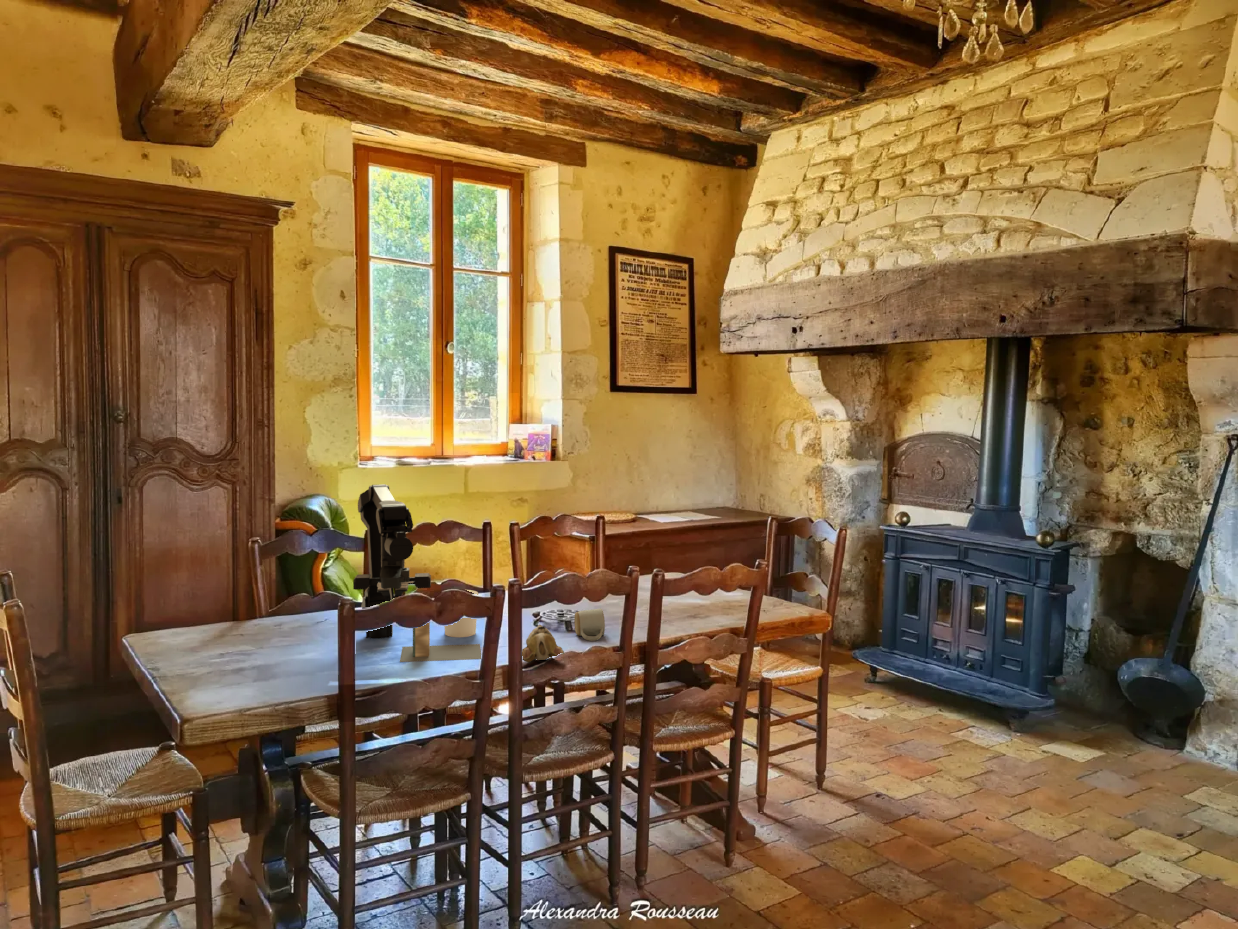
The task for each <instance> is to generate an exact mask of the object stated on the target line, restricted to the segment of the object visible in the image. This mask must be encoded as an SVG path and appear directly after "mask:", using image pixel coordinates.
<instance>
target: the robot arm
mask: <svg viewBox="0 0 1238 929" xmlns="http://www.w3.org/2000/svg"><path fill="white" fill-rule="evenodd" d="M357 511H358V513H359V514H360V520H361V522H362V523H363V525H364V526H365V528H366V529H367V545H368V546H367V550H368V564H369V565H368V567H369V574H367V573H366V574H356V575H355V577H354V578H353V581H352V582H353V584H352V586H353V587H352V590H356V591H358V590H365V591H364V596H363V598H362V601H361V604H360V605H361V606H360V608H361V607H370V606H373V605H376V604H380V603H382V602H385V601H390V600H392V599H393V598H395V597H398V596H401V597H402V595H403V593H404V592H405V593H406V592H408V590H409V585H414V586H415V587H416V588H417V589H430V588H431V586H432V575H431V574H430V572H425V573H423V572H422V573H416V572H415V573H414V576H410V567H406V566H405V560H407V559H409V558H410V557H411V555H413V552H414V545H413V543H412V541H411V540H410V539H409V538H408V537H407V534H406V533H412V532H413V527H414V522H413V518H412V513H411V512H410V509H409V508H408V507H407V506H406V504H405V503H404V502H402V501H398V500H395V498H394V496H393V495H392V493H391V491H390V486H389V485H387V484H372V485H369V486H368V489H367V490H365V491H363V492H361V493H360V494H359V497H358V500H357ZM393 627H394V624H393V625H390V626H387V627H384V628H380V629H377V630H373V631H368V632H366V631H365V638H366V639H373V640H374V639H375V640H378V639H385V638H392V637H393V633H394V628H393Z"/></svg>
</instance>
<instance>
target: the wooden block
mask: <svg viewBox="0 0 1238 929" xmlns="http://www.w3.org/2000/svg"><path fill="white" fill-rule="evenodd" d="M430 622H431V621H430ZM430 622H429V623H427V624H426V625H424V626H421V627H418V628H413V627H412V646H413V657H425V656H429V652H430V646H431V644H430V641H431V638H430V637H431V636H430V635H431V634H430V633H431V632H430V631H431V629H430V628H431V627H430V626H431V625H430V624H431V623H430Z"/></svg>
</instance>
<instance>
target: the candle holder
mask: <svg viewBox="0 0 1238 929" xmlns="http://www.w3.org/2000/svg"><path fill="white" fill-rule="evenodd" d="M466 590H467V591H469V592H472V593H474V594H477V595H478V596H479V592H478V591H476V590H471V589H466ZM443 626H444V625H443ZM476 632H477V619H471V618H462V619H460V621H458V622H457V623H454V624H453V625H448V626H444V635H445V636H447V637H449V638H450V637H452V638H468V637H471V636H474V635H476Z"/></svg>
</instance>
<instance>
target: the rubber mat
mask: <svg viewBox="0 0 1238 929" xmlns="http://www.w3.org/2000/svg"><path fill="white" fill-rule="evenodd" d="M481 648H482V647H481V644H480V643H473V644H472V643H469V644H468V643H467V644H443V645H442V644H440V645H438V644H437V645H430V652H429V656H425V657H413V645H412V646H402V648H401V653H400V658H399V663H411V662H412V663H413V662H416V663H417V662H436V661H437V662H439V661H440V662H442V661H443V662H444V661H463V660H464V661H465V660H482V659H481V655H482V649H481Z"/></svg>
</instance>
